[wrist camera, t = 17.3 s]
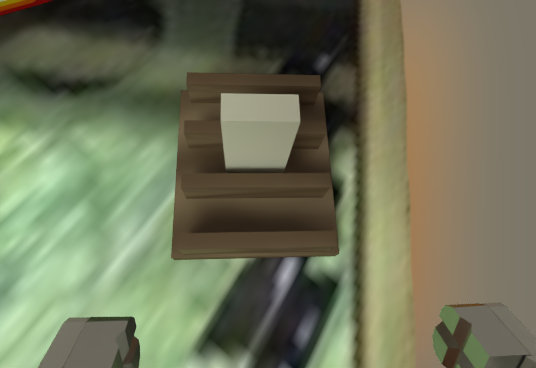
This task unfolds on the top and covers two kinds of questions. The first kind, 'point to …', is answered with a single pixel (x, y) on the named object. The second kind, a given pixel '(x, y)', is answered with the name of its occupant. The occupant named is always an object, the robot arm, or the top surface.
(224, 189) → the rack
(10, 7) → the baking soda box
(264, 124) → the clay tile
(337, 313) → the top surface
